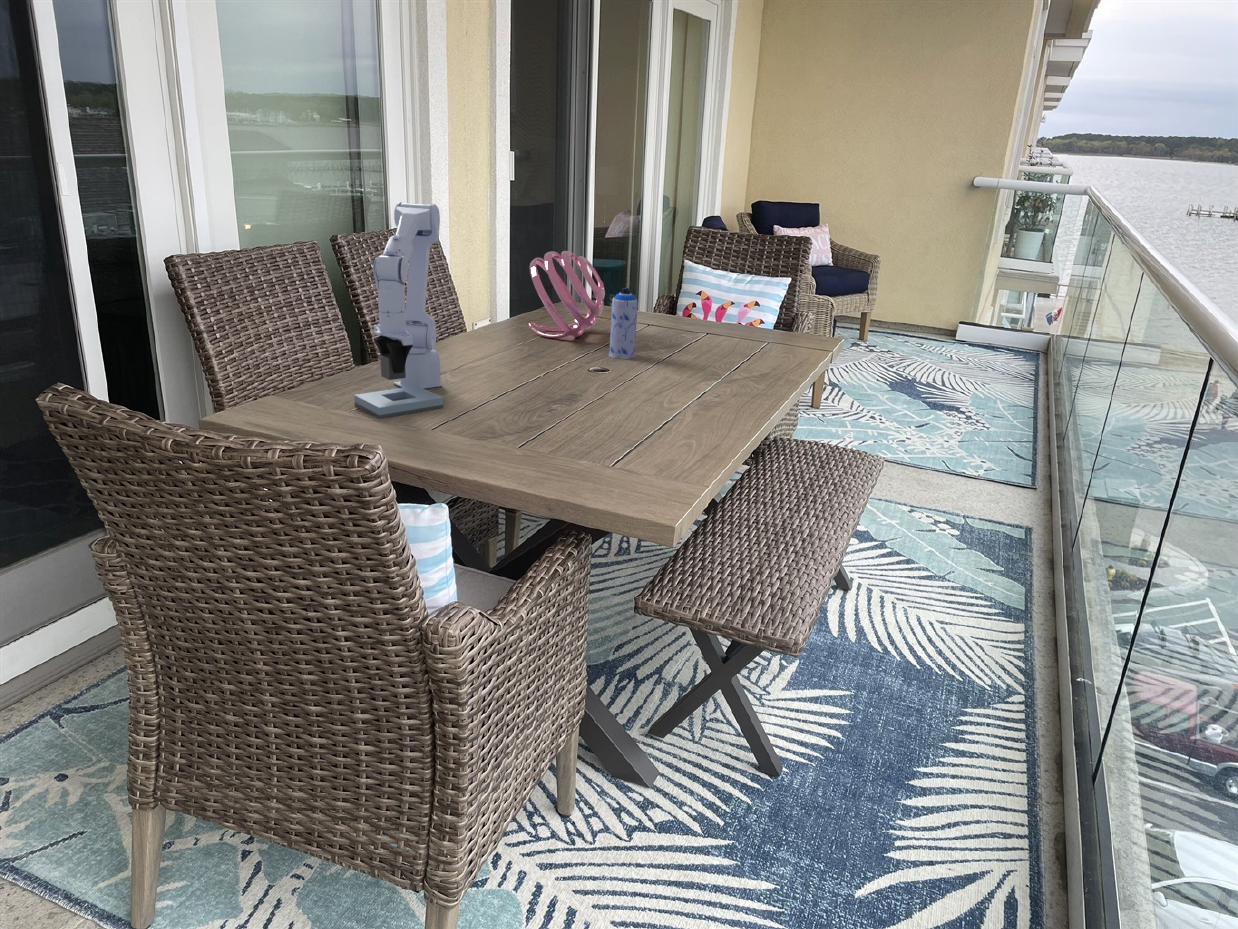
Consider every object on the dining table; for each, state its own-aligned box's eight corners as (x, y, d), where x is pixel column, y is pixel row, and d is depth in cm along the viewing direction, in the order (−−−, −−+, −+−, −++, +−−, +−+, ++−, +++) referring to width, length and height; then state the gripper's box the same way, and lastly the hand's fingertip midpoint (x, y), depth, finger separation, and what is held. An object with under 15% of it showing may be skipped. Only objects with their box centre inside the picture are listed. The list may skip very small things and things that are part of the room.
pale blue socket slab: (417, 395, 216) (416, 385, 215) (443, 407, 207) (443, 397, 207) (354, 405, 206) (354, 394, 205) (379, 418, 197) (379, 407, 196)
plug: (397, 374, 207) (396, 352, 205) (405, 377, 204) (405, 356, 203) (381, 376, 205) (380, 354, 203) (389, 380, 202) (388, 358, 200)
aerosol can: (639, 358, 266) (643, 290, 259) (614, 359, 263) (618, 290, 256) (629, 352, 272) (633, 286, 266) (604, 353, 270) (608, 286, 263)
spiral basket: (488, 273, 277) (562, 227, 270) (522, 283, 304) (590, 242, 296) (528, 353, 275) (604, 309, 268) (559, 356, 302) (628, 317, 295)
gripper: (360, 306, 202) (363, 365, 207) (391, 318, 192) (393, 379, 196) (389, 304, 206) (391, 362, 211) (420, 315, 196) (421, 375, 201)
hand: (393, 370), depth 204 cm, fingers closed on plug, 4 cm apart
